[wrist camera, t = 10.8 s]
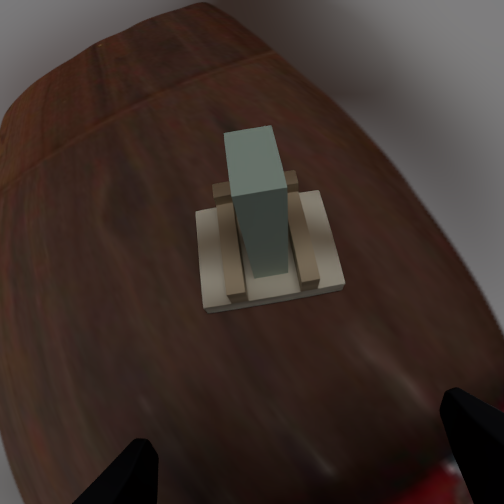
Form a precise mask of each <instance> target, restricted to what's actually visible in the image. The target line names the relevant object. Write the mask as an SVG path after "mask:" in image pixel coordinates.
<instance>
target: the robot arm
mask: <svg viewBox="0 0 504 504" xmlns="http://www.w3.org/2000/svg"><path fill="white" fill-rule="evenodd" d="M440 416H441V419H442V422H443V425H444V428H445V431H446V434H447V437H448V440H449V443H450V447H451V450H452V452H453V455H454V457H455V460H456V462H457V464H458V466H459V469H460V471H461V473H462V476H463V478H464V481H465V483H466V485H467V488H468V490H469V493H470V495H471V498H472V500H473V503H474V504H504V413H503V412H501V411H500V410H498V409H496V408H494V407H492V406H491V405H489V404H487V403H485V402H483V401H482V400H480V399H478V398H476V397H474V396H473V395H471V394H469V393H467V392H465V391H464V390H462V389H460V388H458V387H455V388H452V389H449V390H447V391H446V392H445V393H444V396H443V399H442V402H441V405H440ZM158 463H159V458H158V454H157V452H156V451H155V449H154V447H153V446H152V444H151V443H150V441H149V440H148V439H142V438H136V439H134V440H133V441H132V442H131V443H130V444H129V445H128V446H127V447H126V448H125V449H124V450H123V451H122V453H121V454H120V455H119V456H118V457H117V458H116V459H115V460H114V461H113V462H112V463H111V464H110V465H109V466H108V467H107V468H106V469H105V470H104V471H103V472H102V473H101V475H100V476H99V477H98V478H97V479H96V480H95V481H94V482H93V483H92V484H91V485H90V486H89V487H88V488H87V489H86V490H85V491H84V492H83V493H82V494H81V495H80V496H79V497H78V498H77V499H76V500H75V501H74V502H73V503H72V504H157V492H158Z"/></svg>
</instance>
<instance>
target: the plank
mask: <svg viewBox="0 0 504 504" xmlns="http://www.w3.org/2000/svg"><path fill="white" fill-rule="evenodd" d="M224 140H225V148H226V157H227V165H228V173H229V181H230V189H231V197H232V200H233V204H234V208H235V211H236V215H237V218H238V222H239V226H240V229H241V233H242V236H243V240H244V244H245V247H246V251H247V254H248V258H249V261H250V265H251V269H252V272H253V276H254V279H255V278H261V277H267V276H273V275H279V274H285V273H288V194H287V184H286V180H285V176H284V172H283V168H282V164H281V160H280V156H279V153H278V149H277V145H276V141H275V138H274V134H273V130H272V127H271V126H264V127H258V128H251V129H245V130H240V131H234V132H229V133H224Z"/></svg>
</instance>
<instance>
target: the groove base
mask: <svg viewBox="0 0 504 504" xmlns="http://www.w3.org/2000/svg"><path fill="white" fill-rule="evenodd" d="M284 176H285V180H286V184H287V194H288V273H285V274H279V275H273V276H267V277H261V278H255V279H254V276H253V272H252V269H251V265H250V261H249V258H248V254H247V251H246V247H245V244H244V240H243V236H242V233H241V229H240V226H239V222H238V218H237V215H236V211H235V208H234V204H233V200H232V197H231V189H230V181H228V182H222V183H217V184H212V187H213V197H214V200H215V203H216V207H217V208H211V209H206V210H201V211H196V224H197V239H198V252H199V265H200V277H201V288H202V299H203V308H204V309H205V310H206V311H207V313H214V312H221V311H227V310H234V309H240V308H246V307H252V306H258V305H264V304H270V303H276V302H281V301H287V300H293V299H298V298H303V297H309V296H314V295H319V294H324V293H330V292H335V291H340V290H342V289H343V287H344V285H345V280H344V276H343V273H342V269H341V265H340V261H339V257H338V254H337V250H336V247H335V243H334V239H333V236H332V232H331V229H330V226H329V222H328V219H327V215H326V212H325V209H324V205H323V202H322V199H321V196H320V192H319V190H316V191H309V192H303V193H299V192H298V180H297V176H296V173H295V170H292V171H285V172H284Z"/></svg>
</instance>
